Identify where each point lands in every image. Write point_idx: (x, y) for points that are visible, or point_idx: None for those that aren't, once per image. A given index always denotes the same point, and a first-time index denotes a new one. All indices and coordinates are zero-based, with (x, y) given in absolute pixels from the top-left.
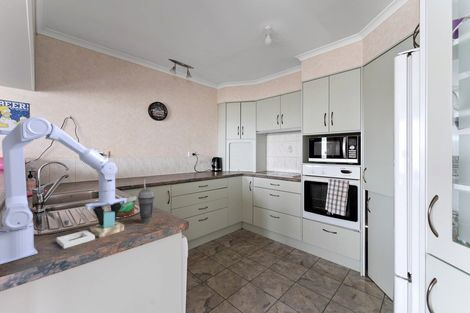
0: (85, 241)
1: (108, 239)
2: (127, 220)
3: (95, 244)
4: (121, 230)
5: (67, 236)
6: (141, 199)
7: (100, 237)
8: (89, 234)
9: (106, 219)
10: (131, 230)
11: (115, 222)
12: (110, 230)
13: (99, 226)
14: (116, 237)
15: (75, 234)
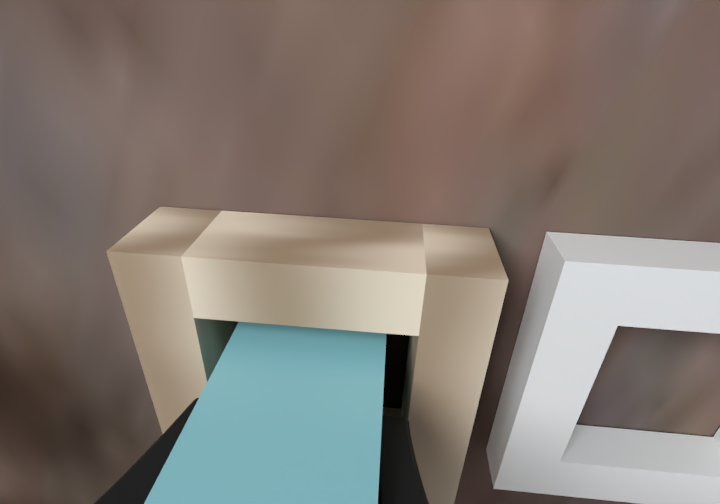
0: (668, 243)
1: (456, 50)
2: (56, 454)
3: (685, 14)
4: (190, 215)
5: (711, 474)
6: None
7: (476, 228)
8: (573, 348)
9: (330, 474)
10: (70, 116)
11: None
12: (337, 248)
13: None
14: (340, 18)
15: (628, 466)
